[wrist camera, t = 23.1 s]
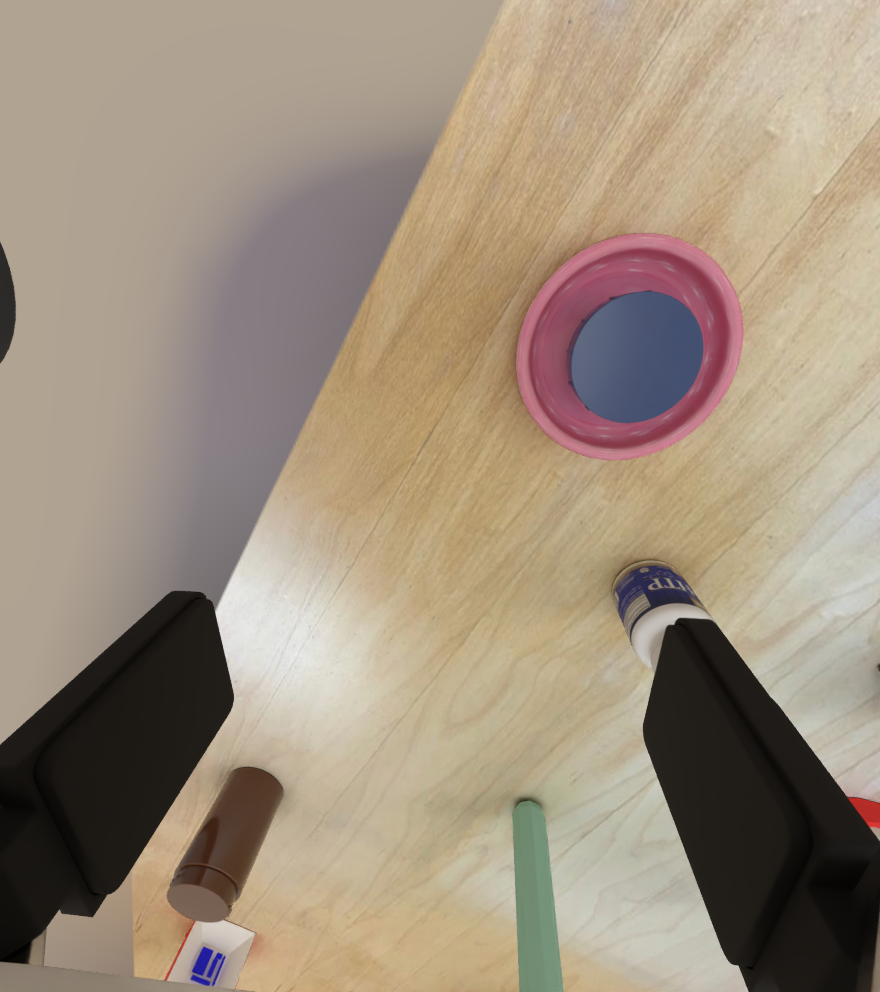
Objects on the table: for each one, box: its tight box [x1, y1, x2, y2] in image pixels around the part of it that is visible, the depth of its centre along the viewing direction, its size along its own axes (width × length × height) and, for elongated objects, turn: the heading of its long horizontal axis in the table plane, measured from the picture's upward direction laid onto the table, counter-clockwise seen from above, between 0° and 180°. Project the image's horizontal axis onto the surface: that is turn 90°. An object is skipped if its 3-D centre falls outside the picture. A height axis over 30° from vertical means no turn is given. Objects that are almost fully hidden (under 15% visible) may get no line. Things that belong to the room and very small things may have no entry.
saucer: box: [516, 233, 743, 460], centre depth 27 cm, size 12×12×3 cm
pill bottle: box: [612, 560, 714, 673], centre depth 30 cm, size 5×5×9 cm
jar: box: [167, 767, 283, 923], centre depth 44 cm, size 6×6×10 cm
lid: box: [566, 290, 704, 423], centre depth 25 cm, size 7×7×2 cm
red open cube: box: [164, 920, 256, 989], centre depth 57 cm, size 8×8×8 cm
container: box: [513, 801, 564, 992], centre depth 38 cm, size 4×4×16 cm
